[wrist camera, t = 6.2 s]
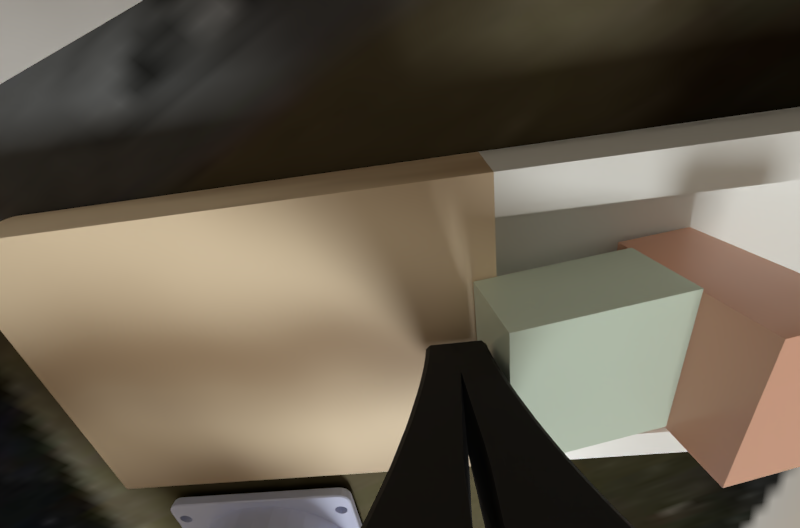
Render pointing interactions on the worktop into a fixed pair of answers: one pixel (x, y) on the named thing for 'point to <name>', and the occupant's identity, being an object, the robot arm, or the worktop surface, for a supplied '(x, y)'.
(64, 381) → the wooden board
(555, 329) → the sage tile
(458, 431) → the robot arm
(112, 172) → the worktop surface
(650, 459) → the worktop surface
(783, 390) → the terracotta tile
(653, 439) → the grey tray
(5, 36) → the kitchen cleaver
